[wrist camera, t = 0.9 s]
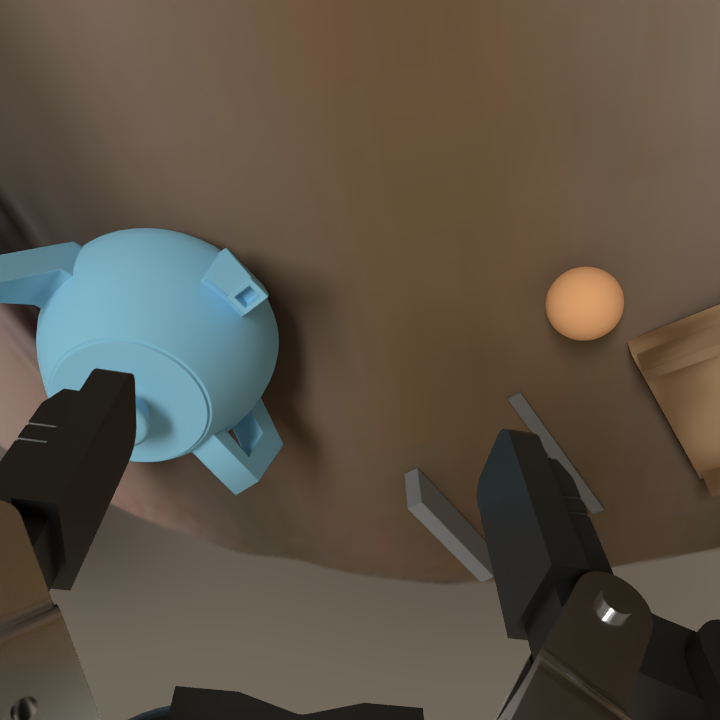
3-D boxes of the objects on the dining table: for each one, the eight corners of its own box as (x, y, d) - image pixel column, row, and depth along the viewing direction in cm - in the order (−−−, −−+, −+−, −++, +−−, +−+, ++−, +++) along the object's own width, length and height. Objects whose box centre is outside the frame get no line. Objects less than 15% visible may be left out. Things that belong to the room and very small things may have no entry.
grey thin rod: (519, 391, 41) (520, 393, 41) (603, 508, 48) (604, 509, 48) (507, 398, 42) (507, 399, 42) (592, 513, 49) (592, 514, 49)
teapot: (79, 407, 42) (5, 526, 33) (18, 203, 34) (-103, 291, 25) (291, 413, 43) (274, 532, 34) (285, 213, 34) (260, 303, 25)
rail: (417, 467, 46) (421, 501, 43) (486, 541, 51) (493, 576, 48) (404, 474, 46) (407, 508, 43) (473, 546, 51) (481, 582, 48)
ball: (591, 240, 35) (618, 273, 31) (619, 293, 37) (648, 329, 33) (525, 279, 36) (544, 315, 33) (555, 328, 39) (576, 367, 35)
